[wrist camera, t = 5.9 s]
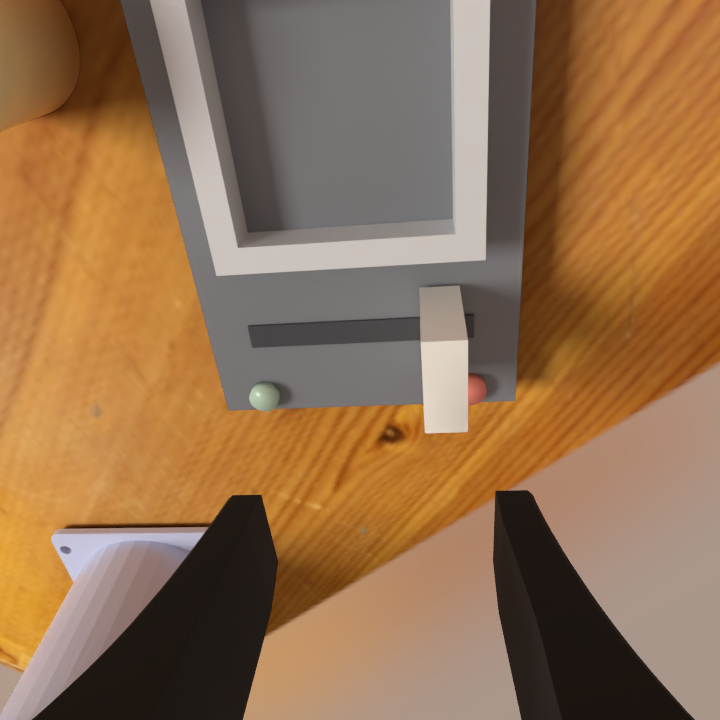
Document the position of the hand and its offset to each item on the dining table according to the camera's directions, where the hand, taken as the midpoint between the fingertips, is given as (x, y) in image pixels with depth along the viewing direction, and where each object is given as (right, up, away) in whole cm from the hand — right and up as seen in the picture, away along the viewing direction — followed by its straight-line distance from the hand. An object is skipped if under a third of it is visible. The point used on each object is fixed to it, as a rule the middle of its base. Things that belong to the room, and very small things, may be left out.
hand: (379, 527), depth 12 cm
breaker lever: (+2, +4, +7) cm, 8 cm away
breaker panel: (-1, +8, +6) cm, 10 cm away
